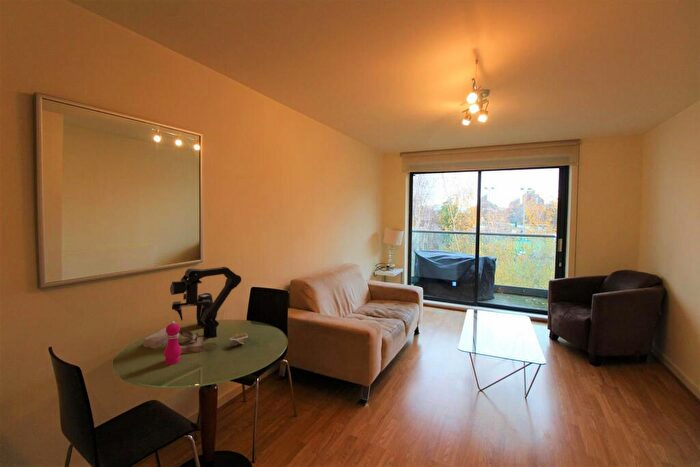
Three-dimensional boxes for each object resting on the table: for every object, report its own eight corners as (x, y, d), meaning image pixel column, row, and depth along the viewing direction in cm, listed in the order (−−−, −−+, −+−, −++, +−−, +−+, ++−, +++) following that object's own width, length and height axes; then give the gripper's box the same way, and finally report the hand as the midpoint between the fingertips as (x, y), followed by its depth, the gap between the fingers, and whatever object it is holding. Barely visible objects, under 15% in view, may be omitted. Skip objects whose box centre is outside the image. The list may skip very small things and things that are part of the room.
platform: (259, 345, 178) (260, 333, 177) (228, 354, 165) (228, 341, 165) (249, 338, 186) (249, 327, 186) (218, 346, 174) (218, 334, 173)
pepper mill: (169, 366, 149) (169, 324, 147) (160, 361, 153) (161, 321, 151) (184, 360, 155) (184, 320, 154) (175, 356, 159) (176, 317, 157)
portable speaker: (213, 326, 200) (214, 295, 198) (197, 328, 195) (197, 297, 193) (211, 321, 207) (212, 292, 205) (195, 323, 202) (195, 293, 200)
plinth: (203, 341, 177) (203, 336, 177) (203, 350, 166) (203, 345, 166) (178, 344, 172) (178, 339, 172) (177, 354, 161) (177, 348, 161)
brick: (156, 348, 166) (156, 340, 166) (142, 347, 167) (142, 338, 167) (178, 336, 183) (178, 328, 182) (165, 335, 184) (165, 327, 183)
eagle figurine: (197, 335, 174) (179, 334, 171) (199, 327, 171) (181, 326, 167) (195, 348, 169) (176, 347, 165) (197, 340, 165) (178, 339, 161)
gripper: (210, 287, 187) (209, 313, 188) (173, 289, 179) (173, 316, 180) (210, 292, 177) (210, 319, 178) (172, 294, 169) (171, 323, 170)
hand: (191, 319), depth 177 cm, fingers open, 9 cm apart
